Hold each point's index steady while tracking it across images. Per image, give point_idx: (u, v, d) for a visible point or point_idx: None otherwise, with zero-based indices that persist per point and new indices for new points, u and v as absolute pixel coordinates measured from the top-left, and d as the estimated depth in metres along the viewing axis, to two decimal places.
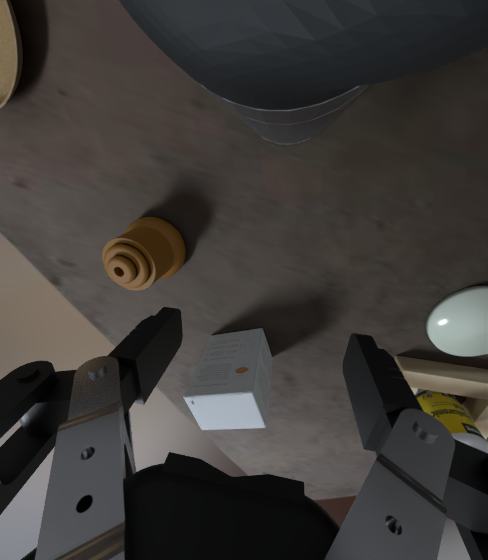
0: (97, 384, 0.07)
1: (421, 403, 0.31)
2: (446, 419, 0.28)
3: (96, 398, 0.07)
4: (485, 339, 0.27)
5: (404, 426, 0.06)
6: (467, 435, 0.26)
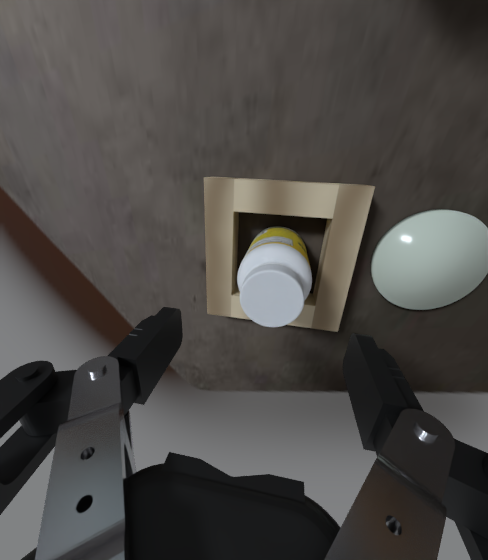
0: (96, 384, 0.07)
1: (292, 233, 0.20)
2: (307, 257, 0.18)
3: (96, 398, 0.07)
4: (402, 280, 0.21)
5: (404, 426, 0.06)
6: (311, 278, 0.17)
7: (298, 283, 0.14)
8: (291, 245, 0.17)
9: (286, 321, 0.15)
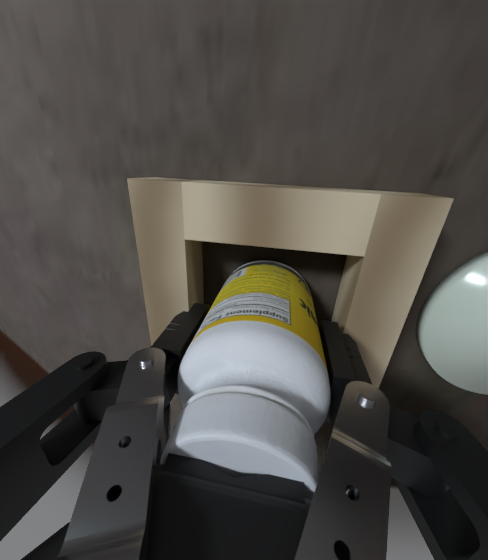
0: (144, 374, 0.07)
1: (290, 278, 0.12)
2: (318, 334, 0.09)
3: (152, 385, 0.07)
4: (472, 351, 0.13)
5: (348, 394, 0.07)
6: (329, 392, 0.08)
7: (305, 467, 0.05)
8: (287, 322, 0.08)
9: None
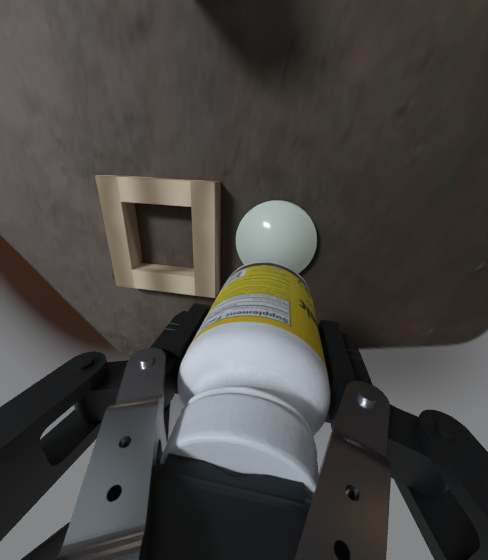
0: (144, 374, 0.07)
1: (290, 279, 0.12)
2: (317, 335, 0.09)
3: (152, 385, 0.07)
4: (258, 255, 0.28)
5: (348, 394, 0.07)
6: None
7: (305, 468, 0.05)
8: (287, 323, 0.08)
9: None
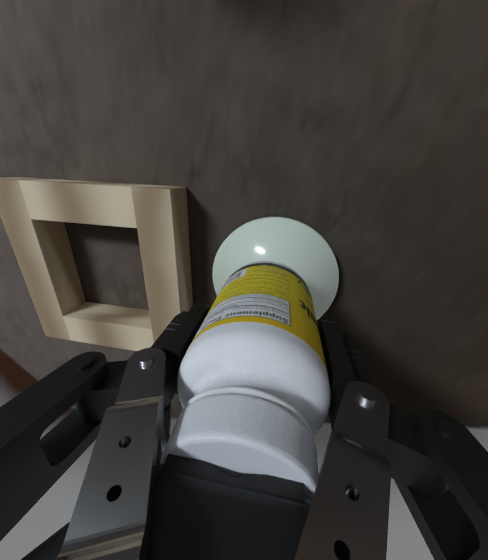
0: (144, 374, 0.07)
1: (290, 279, 0.12)
2: (317, 335, 0.09)
3: (152, 385, 0.07)
4: None
5: (348, 394, 0.07)
6: None
7: (305, 469, 0.05)
8: (287, 323, 0.08)
9: None
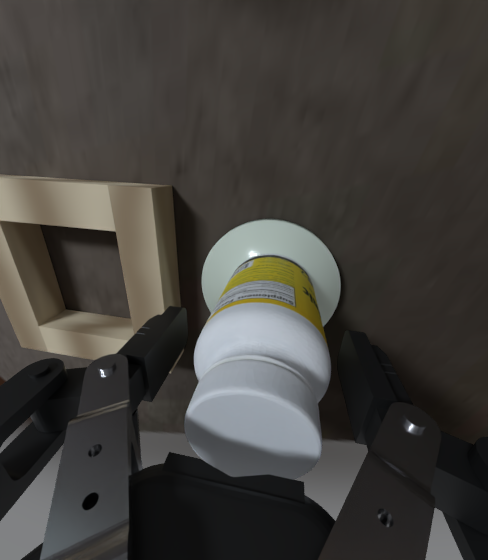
0: (106, 381, 0.07)
1: (293, 269, 0.12)
2: (319, 318, 0.10)
3: (107, 395, 0.07)
4: None
5: (392, 419, 0.06)
6: None
7: (310, 418, 0.06)
8: (292, 305, 0.09)
9: None
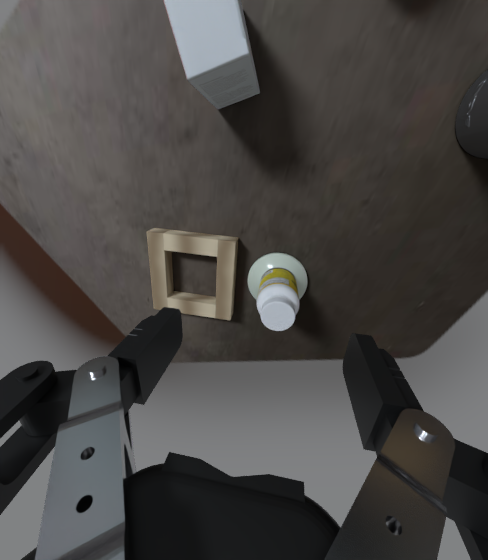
0: (97, 384, 0.07)
1: (288, 273, 0.33)
2: (297, 290, 0.31)
3: (96, 398, 0.07)
4: None
5: (404, 426, 0.06)
6: None
7: (292, 308, 0.27)
8: (288, 284, 0.30)
9: (285, 328, 0.28)
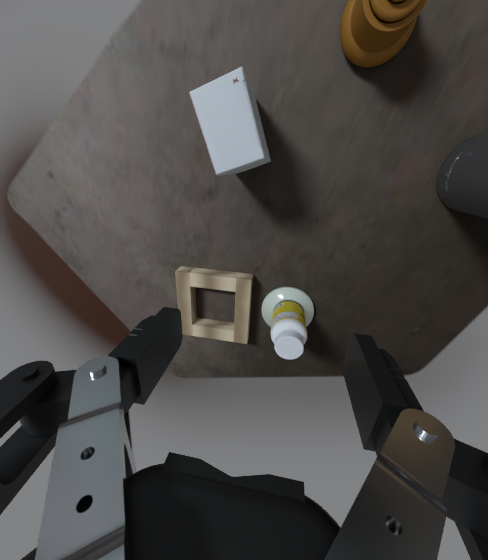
0: (97, 384, 0.07)
1: (297, 306, 0.39)
2: (304, 322, 0.36)
3: (96, 398, 0.07)
4: None
5: (404, 426, 0.06)
6: None
7: (301, 342, 0.32)
8: (297, 319, 0.35)
9: (295, 357, 0.33)
